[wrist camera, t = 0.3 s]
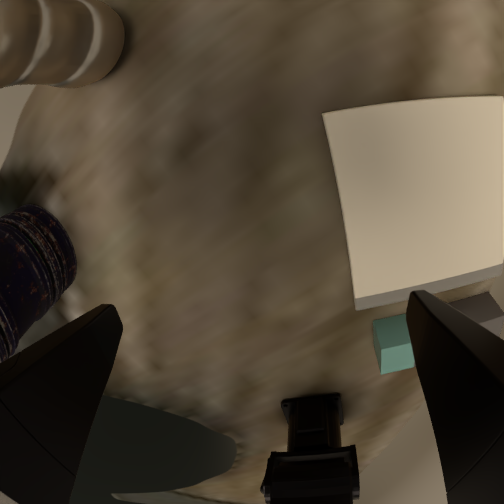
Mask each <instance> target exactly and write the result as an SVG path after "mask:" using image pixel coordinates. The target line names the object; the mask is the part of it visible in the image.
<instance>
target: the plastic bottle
mask: <svg viewBox="0 0 504 504" xmlns="http://www.w3.org/2000/svg"><path fill="white" fill-rule="evenodd" d="M124 39H125V30H124V26H123V22H122V20H121V18H120V16H119V15H118V14H117V13H116V12H115V11H114V10H113V9H112V8H110V7H109V6H108V5H106V4H105V3H103V2H101V1H98V0H0V88H3V87H8V86H13V85H22V84H42V85H50V86H54V87H60V88H79V87H83V86H86V85H88V84H91V83H94V82H96V81H98V80H100V79H102V78H103V77H104V76H106V75H107V74H108V73H109V72H110V71H111V70H112V69H113V67H114V66H115V64H116V63H117V61H118V59H119V57H120V55H121V53H122V49H123V46H124Z"/></svg>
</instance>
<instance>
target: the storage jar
mask: <svg viewBox="0 0 504 504" xmlns="http://www.w3.org/2000/svg"><path fill="white" fill-rule="evenodd" d="M76 270H77V263H76V256H75V252H74V248H73V245H72V243H71V240H70V238H69V236H68V234H67V233H66V231H65V229H64V228H63V226H62V225H61V224H60V223H59V221H58V220H57V219H56V218H55V217H54V216H53V215H52V214H51V213H49V212H48V211H47V210H45V209H43V208H42V207H39V206H37V205H31V204H28V205H23V206H21V207H19V208H17V209H16V210H15V211H13V212H11V213H9V214H7V215H4V216H2V217H1V218H0V363H1V362H3V361H5V360H7V359H8V358H9V357H10V356H11V355H13V354H14V352H15V349H16V348H17V346H18V343H19V340H20V338H21V337H22V336H23V335H24V334H25V332H26V331H27V330H28V329H29V328H30V326H31V325H32V324H33V323H34V322H35V321H38V320H39V319H41V318H42V317H43V315H45V314H46V313H47V311H48V310H49V309H51V308H52V307H53V306H54V304H55V303H56V302H57V301H58V300H59V298H60V296H61V295H62V294H63V293H64V291H65V290H66V289H67V288H68V287H69V286H70V285H71V284H72V283H73V281H74V279H75V276H76Z"/></svg>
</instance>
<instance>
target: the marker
mask: <svg viewBox="0 0 504 504" xmlns="http://www.w3.org/2000/svg"><path fill="white" fill-rule="evenodd" d="M447 304H449V305H450V306H452V307H453V308H455V309H456V310H458V311H460V312H461V313H463V314H464V315H466V316H468V317H469V318H471V319H472V320H474V321H475V322H477V323H478V324H480V325H481V326H483V327H485V328H486V329H488V330H489V331H491V332H492V333H494V334H495V335H497V336H498V337H499V336H500V332H501V329H502V326H503V322H504V312H503V311H502V309H501V308H500V307H499V305H498V304H497V303H496V301H495V300H494V299H493V297H492V296H491V295H490V293H489V292H486V293H482V294H479V295H475V296H472V297H468V298H465V299H461V300H458V301H454V302H450V303H447ZM373 333H374V348H375V352H376V356H377V360H378V364H379V368H380V373H381V374H386V373H390V372H395V371H399V370H403V369H408V368H412V367H416V365H415V361H414V356H413V351H412V346H411V341H410V336H409V331H408V327H407V322H406V314H402V315H397V316H393V317H388V318H384V319H379V320H374V321H373Z"/></svg>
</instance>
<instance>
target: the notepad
mask: <svg viewBox="0 0 504 504" xmlns="http://www.w3.org/2000/svg"><path fill="white" fill-rule="evenodd" d="M321 114H322V118H323V122H324V126H325V131H326V135H327V140H328V144H329V149H330V153H331V158H332V163H333V168H334V173H335V178H336V183H337V188H338V193H339V199H340V205H341V210H342V216H343V222H344V228H345V235H346V241H347V248H348V255H349V262H350V270H351V278H352V286H353V295H354V303H355V307H356V311H358V310H363V309H368V308H372V307H377V306H382V305H387V304H391V303H396V302H400V301H405V300H409V295H410V292H411V291H413V290H422V289H423V290H426V291H427V292H429V293H431V294H434V293H438V292H442V291H446V290H450V289H454V288H458V287H462V286H465V285H469V284H473V283H476V282H480V281H483V280H487V279H490V278H494V277H497V276H500V275H501V274H502V268H503V259H504V99H503V96H459V97H442V98H428V99H417V100H407V101H398V102H390V103H382V104H374V105H367V106H361V107H354V108H348V109H342V110H336V111H331V112H325V113H321Z"/></svg>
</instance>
